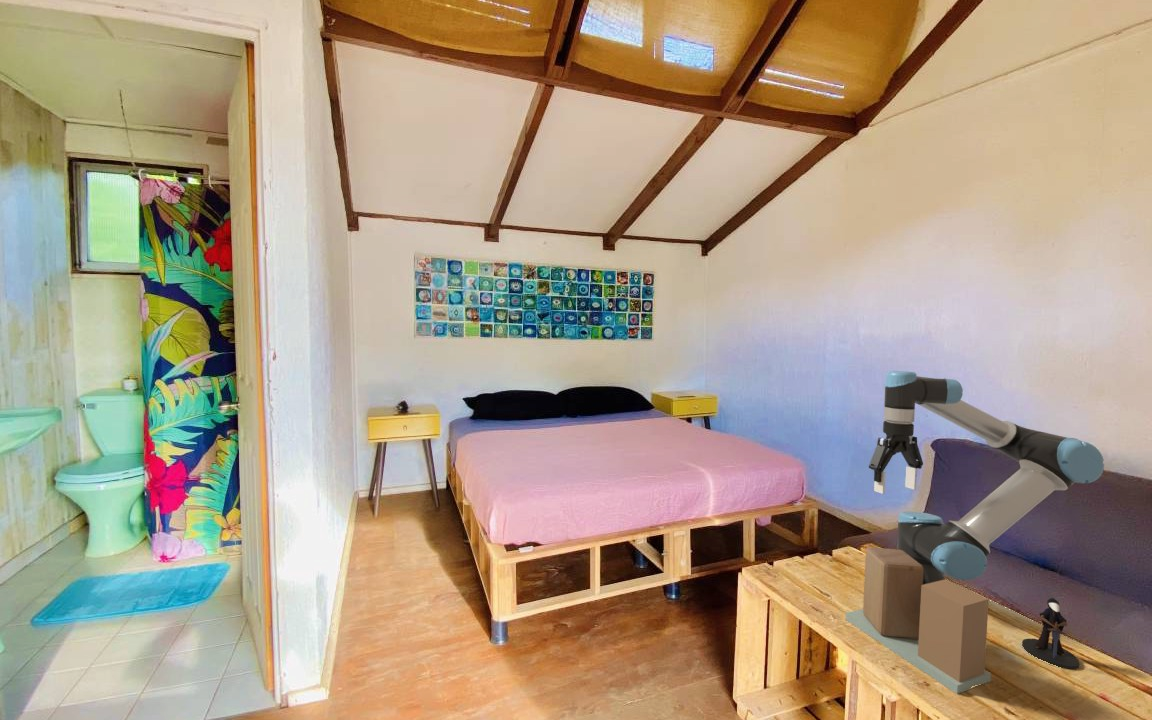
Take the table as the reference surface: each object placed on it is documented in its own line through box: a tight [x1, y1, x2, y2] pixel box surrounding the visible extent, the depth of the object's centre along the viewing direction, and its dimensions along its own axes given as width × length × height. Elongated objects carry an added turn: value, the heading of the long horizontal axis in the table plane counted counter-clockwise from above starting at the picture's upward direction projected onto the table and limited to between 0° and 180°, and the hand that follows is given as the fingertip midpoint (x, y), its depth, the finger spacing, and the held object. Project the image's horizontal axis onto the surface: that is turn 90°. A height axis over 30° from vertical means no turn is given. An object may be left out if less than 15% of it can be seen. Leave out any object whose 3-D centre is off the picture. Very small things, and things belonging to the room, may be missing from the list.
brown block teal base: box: [845, 578, 992, 695], centre depth 115 cm, size 12×28×20 cm, turn 19°
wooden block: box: [862, 546, 924, 639], centre depth 120 cm, size 10×10×20 cm
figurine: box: [1021, 597, 1081, 670], centre depth 113 cm, size 10×10×15 cm
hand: (895, 490), depth 135 cm, fingers open, 13 cm apart
